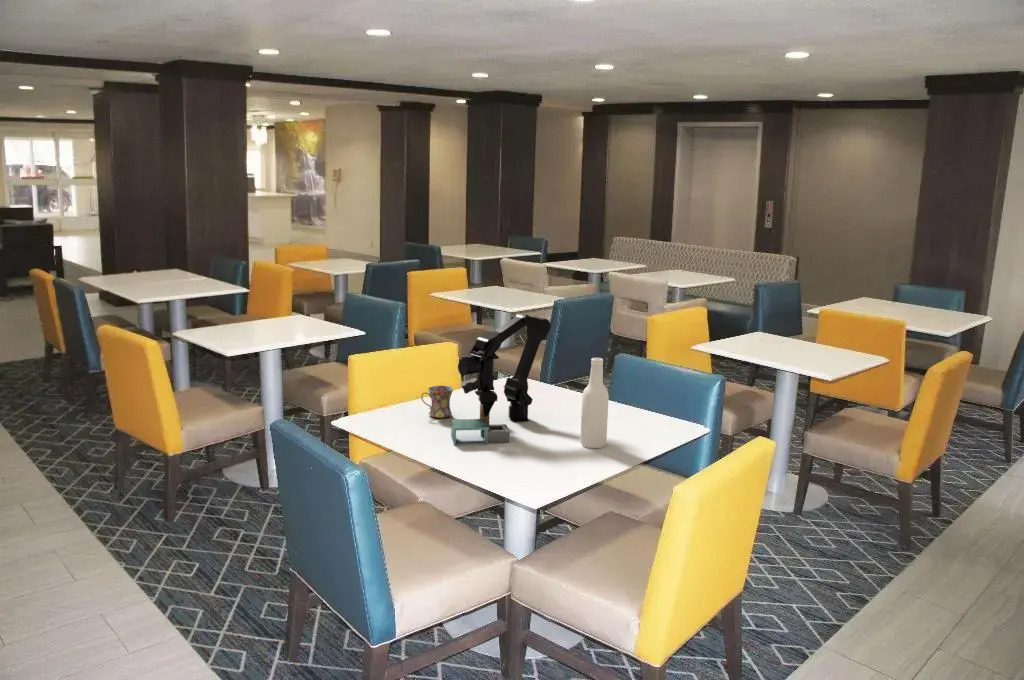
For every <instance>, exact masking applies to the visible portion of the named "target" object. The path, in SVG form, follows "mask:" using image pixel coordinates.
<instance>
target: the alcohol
mask: <svg viewBox="0 0 1024 680" xmlns="http://www.w3.org/2000/svg"><path fill="white" fill-rule="evenodd" d="M590 364H591V365H590V373H589V382H588V385H587V386H586V387H585V388H584V389H583V391H582V395H581V397H582V399H581V417H580V418H581V419H580V420H581V422H580V439H579V440H580V441H579V442H580V444H581V446H582V445H583V446H582V447H584V446H585V447H584V448H586V447H588V449H592V448H598V449H602V447H603V448H604V447H605V446H606V445H607V437H608V436H607V435H608V419H609V415H608V414H609V400H610V399H609V397H610V396H609V392H608V390H607V388H606V387H605V385H604V368H603V366H604V365H603V364H604V359H603V358H601V357H592V358H591V362H590Z"/></svg>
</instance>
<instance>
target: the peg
mask: <svg viewBox="0 0 1024 680" xmlns="http://www.w3.org/2000/svg"><path fill="white" fill-rule="evenodd" d="M490 412H491V411H490ZM490 412H489V414H488V416H487V417H484V411H483V405H482V404H479V419H485V421H486V423H487V425H490Z"/></svg>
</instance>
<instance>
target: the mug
mask: <svg viewBox="0 0 1024 680" xmlns="http://www.w3.org/2000/svg"><path fill="white" fill-rule="evenodd" d="M427 390H428V392H429V393H428V392H423V393H421V395H420V398H421V401H422V402H423V404H424V405H426V406H427V407H429V408H428V409H429V410H430V411H429V413H428V414H429V416H430V417H433V418H436V419H444V418H449V417H451V416H452V414H453V412H452V411H451V406H450V404H451V403H450V401H451V396H452V394H453V391H454V388H453V387H452V386H448V385H433V386H430V387H428V389H427ZM424 395H428V396H429V398H430V399H431V405H430V404H429V403H427V402H425V400H424V399H423V396H424Z"/></svg>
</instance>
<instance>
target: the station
mask: <svg viewBox="0 0 1024 680" xmlns="http://www.w3.org/2000/svg"><path fill="white" fill-rule="evenodd" d="M450 423H451V424H450V425H451V426H450V427H451V431H450V432H451V434H450V435H451V436H450V437H451V441H452V444H453V446H457V431H480V437H483V439H484V445H485V446H486V445H487V444H500V443H501V444H505V443H506V444H507V443H508V444H509V443H510V441H511V440H510V439H511V438H510V435H511V434H510V433H511V432H510V429H509V427H508V426H507V424H506V423H505V424H504V423H503V424H501V423H500V424H498V423H497V424H489V425H487V423H486V421H485V419H480V418H463V419H451V422H450ZM487 446H488V445H487Z"/></svg>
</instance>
